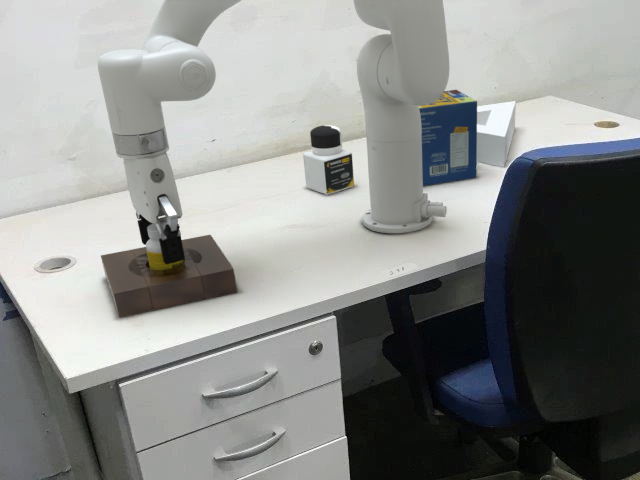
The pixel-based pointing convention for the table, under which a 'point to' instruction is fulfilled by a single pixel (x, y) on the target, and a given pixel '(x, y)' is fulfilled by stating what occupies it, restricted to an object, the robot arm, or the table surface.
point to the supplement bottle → (157, 250)
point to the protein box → (449, 138)
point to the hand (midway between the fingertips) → (163, 251)
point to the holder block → (168, 277)
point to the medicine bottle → (328, 162)
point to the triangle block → (495, 132)
